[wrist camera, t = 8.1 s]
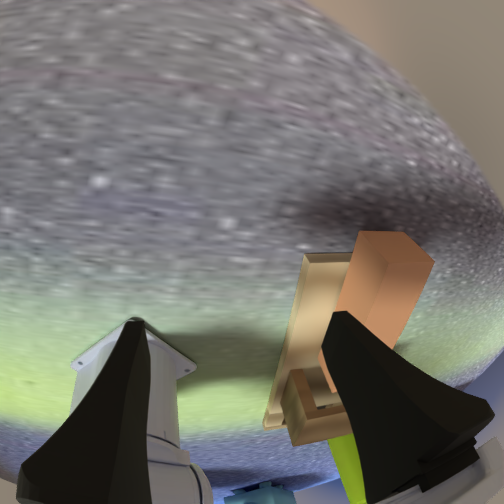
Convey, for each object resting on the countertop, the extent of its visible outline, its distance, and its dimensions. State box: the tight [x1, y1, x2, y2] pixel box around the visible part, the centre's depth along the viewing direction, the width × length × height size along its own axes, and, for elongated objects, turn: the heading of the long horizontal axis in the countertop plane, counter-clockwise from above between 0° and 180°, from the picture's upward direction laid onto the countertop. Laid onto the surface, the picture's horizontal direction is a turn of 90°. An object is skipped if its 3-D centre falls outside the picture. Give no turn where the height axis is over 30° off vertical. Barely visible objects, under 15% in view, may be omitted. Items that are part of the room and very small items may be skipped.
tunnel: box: [280, 369, 353, 447], centre depth 28 cm, size 6×8×6 cm
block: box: [318, 231, 435, 393], centre depth 22 cm, size 13×4×4 cm, turn 175°
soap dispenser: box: [327, 433, 367, 504], centre depth 35 cm, size 6×7×20 cm
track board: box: [262, 253, 353, 431], centre depth 29 cm, size 25×10×1 cm, turn 175°
